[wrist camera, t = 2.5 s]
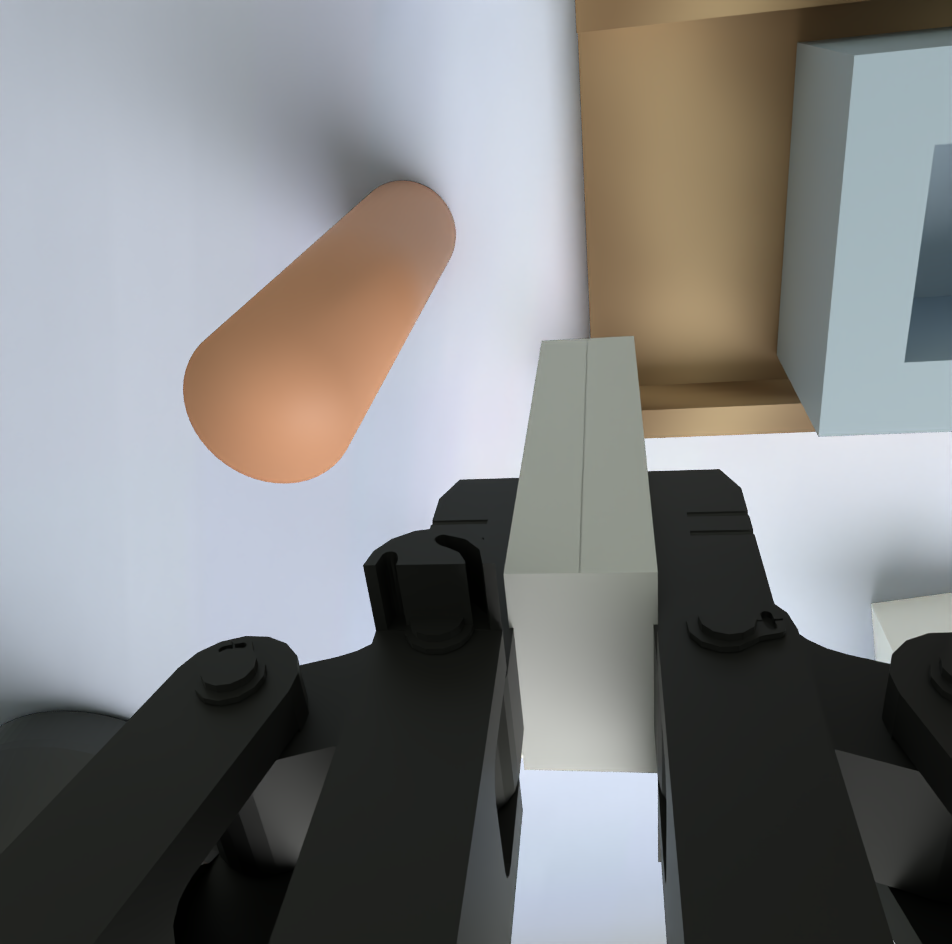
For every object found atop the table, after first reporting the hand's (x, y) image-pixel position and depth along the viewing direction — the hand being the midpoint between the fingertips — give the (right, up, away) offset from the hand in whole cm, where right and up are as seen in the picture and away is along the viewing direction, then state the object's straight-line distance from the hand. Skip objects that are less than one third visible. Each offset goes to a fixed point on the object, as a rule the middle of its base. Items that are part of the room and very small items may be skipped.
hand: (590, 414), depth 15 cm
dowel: (-4, +7, +14) cm, 16 cm away
